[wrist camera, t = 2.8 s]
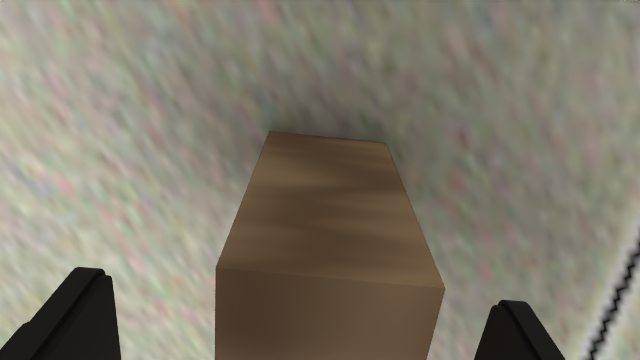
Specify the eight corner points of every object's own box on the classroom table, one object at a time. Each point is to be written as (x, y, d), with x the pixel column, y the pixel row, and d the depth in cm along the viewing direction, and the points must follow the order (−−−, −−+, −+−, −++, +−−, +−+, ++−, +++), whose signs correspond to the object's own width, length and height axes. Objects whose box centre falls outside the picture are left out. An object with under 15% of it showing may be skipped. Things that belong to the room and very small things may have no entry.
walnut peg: (385, 143, 19) (445, 288, 10) (368, 243, 21) (404, 443, 11) (269, 131, 19) (215, 267, 9) (263, 233, 20) (214, 427, 11)
